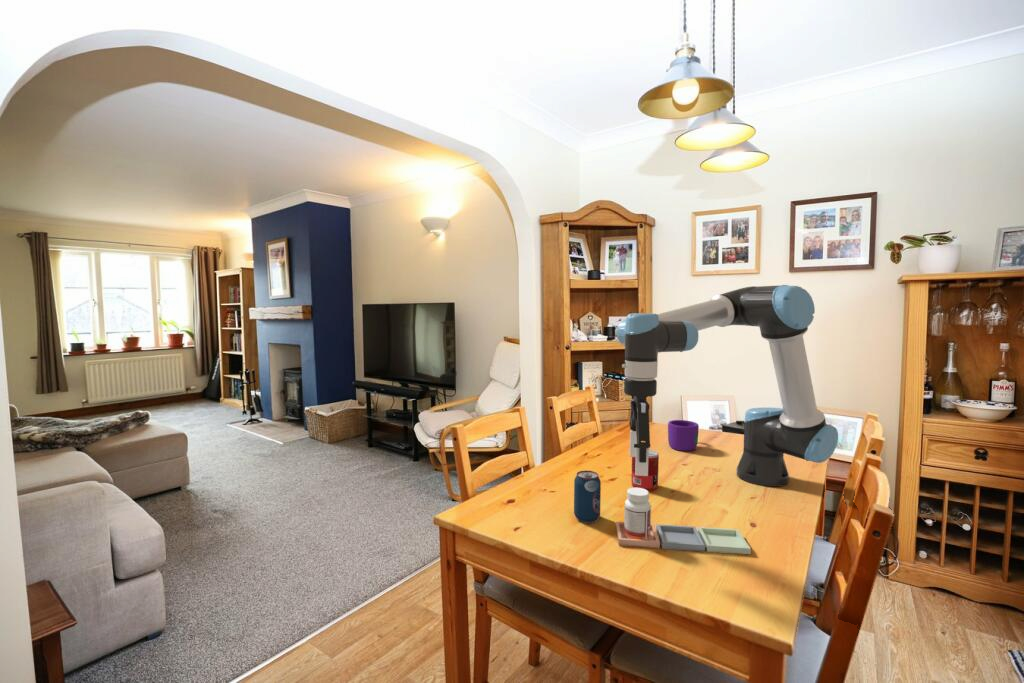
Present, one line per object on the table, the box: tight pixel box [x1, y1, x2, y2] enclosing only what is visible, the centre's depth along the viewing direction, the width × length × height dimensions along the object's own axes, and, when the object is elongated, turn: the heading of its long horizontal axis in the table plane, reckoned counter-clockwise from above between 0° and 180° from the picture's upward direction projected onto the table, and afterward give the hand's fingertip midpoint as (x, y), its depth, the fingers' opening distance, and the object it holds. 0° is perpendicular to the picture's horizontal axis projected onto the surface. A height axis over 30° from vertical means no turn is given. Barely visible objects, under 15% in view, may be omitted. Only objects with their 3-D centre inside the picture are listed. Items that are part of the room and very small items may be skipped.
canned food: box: [631, 448, 660, 492], centre depth 150 cm, size 8×8×11 cm
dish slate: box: [655, 523, 706, 552], centre depth 117 cm, size 9×9×2 cm
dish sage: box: [697, 526, 752, 555], centre depth 115 cm, size 9×9×2 cm
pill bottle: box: [623, 487, 652, 540], centre depth 118 cm, size 6×6×11 cm
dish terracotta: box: [615, 521, 661, 549], centre depth 118 cm, size 9×9×2 cm
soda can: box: [573, 470, 602, 524], centre depth 128 cm, size 7×7×12 cm
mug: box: [667, 419, 699, 452], centre depth 193 cm, size 17×11×10 cm, turn 150°
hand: (638, 465), depth 117 cm, fingers open, 13 cm apart
